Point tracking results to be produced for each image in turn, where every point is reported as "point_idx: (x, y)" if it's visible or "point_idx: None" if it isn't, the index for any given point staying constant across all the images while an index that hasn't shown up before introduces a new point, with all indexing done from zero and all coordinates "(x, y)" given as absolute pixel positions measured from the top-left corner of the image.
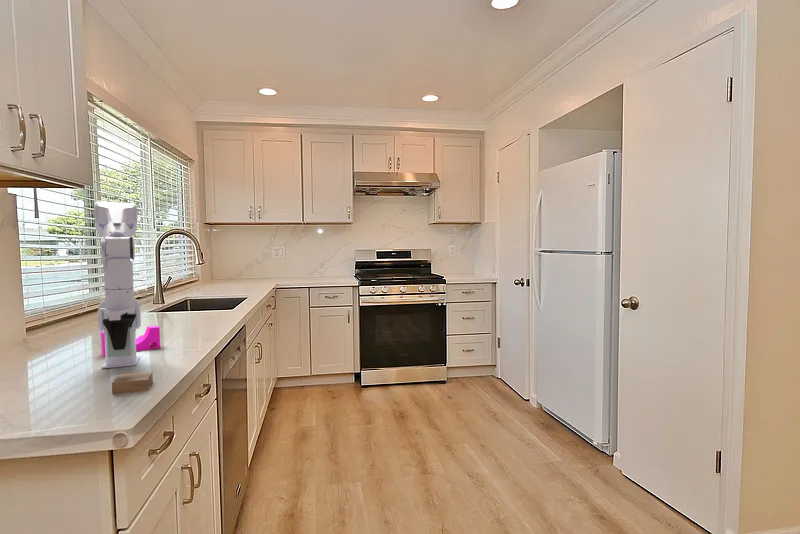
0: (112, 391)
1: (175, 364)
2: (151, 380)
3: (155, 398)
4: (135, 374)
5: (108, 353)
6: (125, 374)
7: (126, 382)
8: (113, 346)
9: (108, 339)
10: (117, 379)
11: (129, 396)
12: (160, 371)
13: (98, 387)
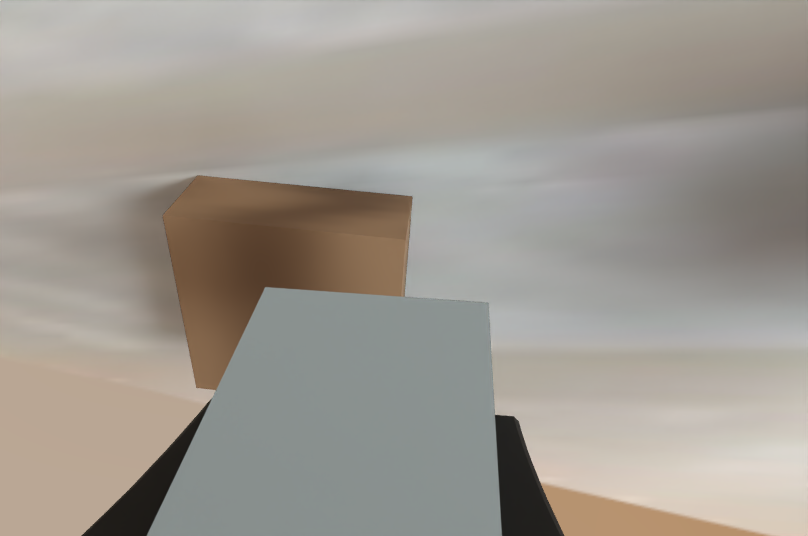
0: (187, 189)
1: (800, 460)
2: None
3: (84, 362)
4: None
5: (255, 320)
6: (389, 279)
7: (179, 289)
8: (189, 425)
9: (192, 463)
10: (251, 242)
11: (143, 263)
12: (664, 393)
13: (439, 64)
